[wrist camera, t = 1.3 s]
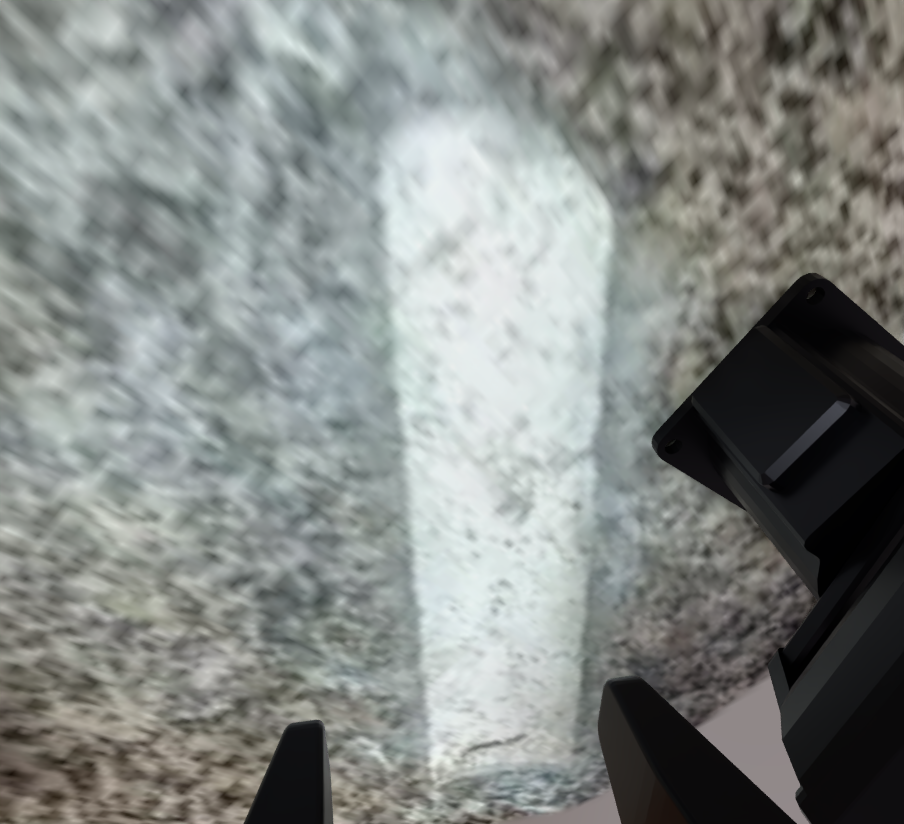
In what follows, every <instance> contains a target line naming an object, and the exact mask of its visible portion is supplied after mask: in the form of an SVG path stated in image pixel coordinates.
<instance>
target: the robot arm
mask: <svg viewBox="0 0 904 824" xmlns="http://www.w3.org/2000/svg"><path fill="white" fill-rule="evenodd" d="M814 288H816V292H815V293H814V295H813V296H812V297H810V298H809V299H807V295H808V293H809V292H810V291H811V290H812V289H814ZM674 439H676V440H675V442H674V443H673V444H672V445H670V446H666V444H667V443H668V442H669V441H671V440H674ZM665 446H666V447H665ZM652 447H653V449H654V450H655V452H656V453H657V455H658V456H659V457H660V458H661V459H662V460H664V461H666V462H667V463H669V464H670V465H672V466H674V467H675V468H677V469H679V470H680V471H682V472H683V473H685V474H687V475H688V476H690V477H692V478H693V479H695V480H697V481H698V482H700V483H701V484H703V485H705V486H706V487H708V488H710V489H711V490H713V491H715V492H716V493H718V494H719V495H721V496H723V497H724V498H726V499H728V500H729V501H731V502H732V503H734V504H736V505H737V506H739V507H741V508H742V509H744V510H746V511H747V512H748V513H749V514H750V515H751V517H752V518H753V519H754V520H755V522H756V523H757V524H758V525H759V527H760V528H761V529H762V531H763V532H764V533H765V534H766V536H767V537H768V538H769V539H770V541H771V542H772V543H773V545H774V546H775V547H776V548H777V550H778V551H779V552H780V553H781V555H782V556H783V557H784V559H785V560H786V561H787V562H788V564H789V565H790V566H791V567H792V569H793V570H794V571H795V573H796V574H797V575H798V576H799V578H800V579H801V580H802V581H803V583H804V584H805V585H806V587H807V588H808V589H809V590H810V592H811V593H812V594H813V595H814V597H815V598H816V599H817V603H816V604H815V606H814V607H813V609H812V610H811V611H810V613H809V614H808V616H807V617H806V618H805V620H804V621H803V623H802V624H801V625H800V627H799V628H798V630H797V631H796V632H795V634H794V635H793V637H792V638H791V639H790V641H789V642H788V644H787V645H786V646H785V648H779V649H778V650H777V652H776V653H775V655H774V656H773V657H772V659H771V660H770V662H769V663H768V669H769V673H770V676H771V680H772V684H773V687H774V691H775V695H776V698H777V702H778V705H779V709H780V713H781V730H782V741H783V743H784V746H785V748H786V751H787V753H788V756H789V758H790V761H791V763H792V766H793V768H794V771H795V773H796V776H797V778H798V780H799V782H800V788H799V789H798V790H797V791H796V801H797V803H798V805H799V807H800V810H801V812H802V813H803V815H804V816H805V818H806V819H807V820H808V822H809V823H810V824H904V346H903V345H902V344H901V343H900V342H899V341H898V340H897V339H895V338H894V337H893V336H892V335H891V334H890V333H889V332H887V331H886V330H885V329H884V328H883V327H882V326H881V325H879V324H878V323H877V322H876V321H875V320H874V319H873V318H871V317H870V316H869V315H868V314H867V313H866V312H865V311H863V310H862V309H861V308H860V307H859V306H858V305H857V304H855V303H854V302H853V301H852V300H851V299H850V298H849V297H847V296H846V295H845V294H844V293H843V292H842V291H841V290H839V289H838V288H837V287H836V286H835V285H834V284H833V283H831V282H830V281H829V280H827V279H826V278H824V277H823V276H821V275H819V274H817V273H808V274H806V275H803V276H802V277H800V278H799V279H798V280H797V281H796V282H795V283H794V284H793V285H792V286H791V287H790V288H789V289H788V290H787V291H786V292H785V293H784V294H783V296H782V297H781V298H780V299H779V300H778V301H777V302H776V303H775V304H774V305H773V306H772V307H771V309H770V310H769V311H768V312H767V313H766V314H765V315H764V316H763V317H762V318H761V319H760V320H759V321H758V323H757V324H756V325H755V326H754V327H753V328H752V329H751V330H750V331H749V332H748V333H747V334H746V336H745V337H744V338H743V339H742V340H741V341H740V342H739V343H738V344H737V345H736V346H735V347H734V348H733V350H732V351H731V352H730V353H729V354H728V355H727V356H726V357H725V358H724V359H723V360H722V361H721V363H720V364H719V365H718V366H717V367H716V368H715V369H714V370H713V371H712V372H711V373H710V374H709V375H708V377H707V378H706V379H705V380H704V381H703V382H702V383H701V384H700V385H699V386H698V387H697V388H696V390H695V391H694V392H693V393H692V394H691V395H690V396H689V397H688V398H687V399H686V400H685V401H684V402H683V404H682V405H681V406H680V407H679V408H678V409H677V410H676V411H675V412H674V413H673V414H672V415H671V417H670V418H669V419H668V420H667V421H666V422H665V423H664V424H663V425H662V426H661V427H660V428H659V429H658V431H657V432H656V433H655V435H654V436H653V438H652ZM598 734H599V740H600V745H601V748H602V752H603V756H604V760H605V763H606V767H607V771H608V775H609V779H610V782H611V786H612V790H613V794H614V797H615V801H616V805H617V809H618V813H619V816H620V820H621V824H797V823H795V822H794V821H793V820H792V819H791V818H790V817H789V816H788V815H787V814H786V813H785V812H784V811H783V810H782V809H781V808H780V807H778V806H777V805H776V804H775V803H774V802H773V801H772V800H771V799H770V798H769V797H768V796H767V795H766V794H764V792H763V791H761V790H760V789H759V788H758V787H757V786H756V785H755V784H754V783H753V782H752V781H751V780H750V779H749V778H748V777H747V776H746V775H744V774H743V773H742V772H741V771H740V770H739V769H738V768H737V767H736V766H735V765H734V764H733V763H732V762H730V761H729V760H728V759H727V758H726V757H725V756H724V755H723V754H722V753H721V752H720V751H719V750H718V749H717V748H716V747H715V746H714V745H713V744H711V743H710V742H709V741H708V740H707V739H706V738H705V737H704V736H703V735H702V734H701V733H700V732H699V731H698V730H697V729H695V728H694V727H693V726H692V725H691V724H690V723H689V722H688V721H687V720H686V719H685V718H684V717H683V716H682V715H681V714H680V713H678V712H677V711H676V710H675V709H674V708H673V707H672V706H671V705H670V704H669V703H668V702H667V701H666V700H665V699H664V698H662V697H661V696H660V695H659V694H658V693H657V692H656V691H655V690H654V689H653V688H652V687H651V686H650V685H649V684H648V683H647V682H645V681H644V680H643V679H642V678H640V677H637V676H626V677H619V678H612V679H608V680H607V681H606V682H605V684H604V687H603V693H602V699H601V706H600V712H599V719H598ZM244 824H333V808H332V790H331V774H330V764H329V756H328V748H327V741H326V733H325V727H324V723H323V722H322V721H321V720H311V721H304V722H297V723H291V724H290V725H288V726H287V727H286V729H285V730H284V732H283V734H282V737H281V739H280V741H279V744H278V746H277V748H276V750H275V753H274V755H273V757H272V760H271V762H270V764H269V767H268V769H267V771H266V773H265V776H264V778H263V780H262V783H261V785H260V787H259V790H258V792H257V794H256V796H255V799H254V801H253V803H252V806H251V808H250V810H249V813H248V815H247V817H246V819H245V822H244Z"/></svg>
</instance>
